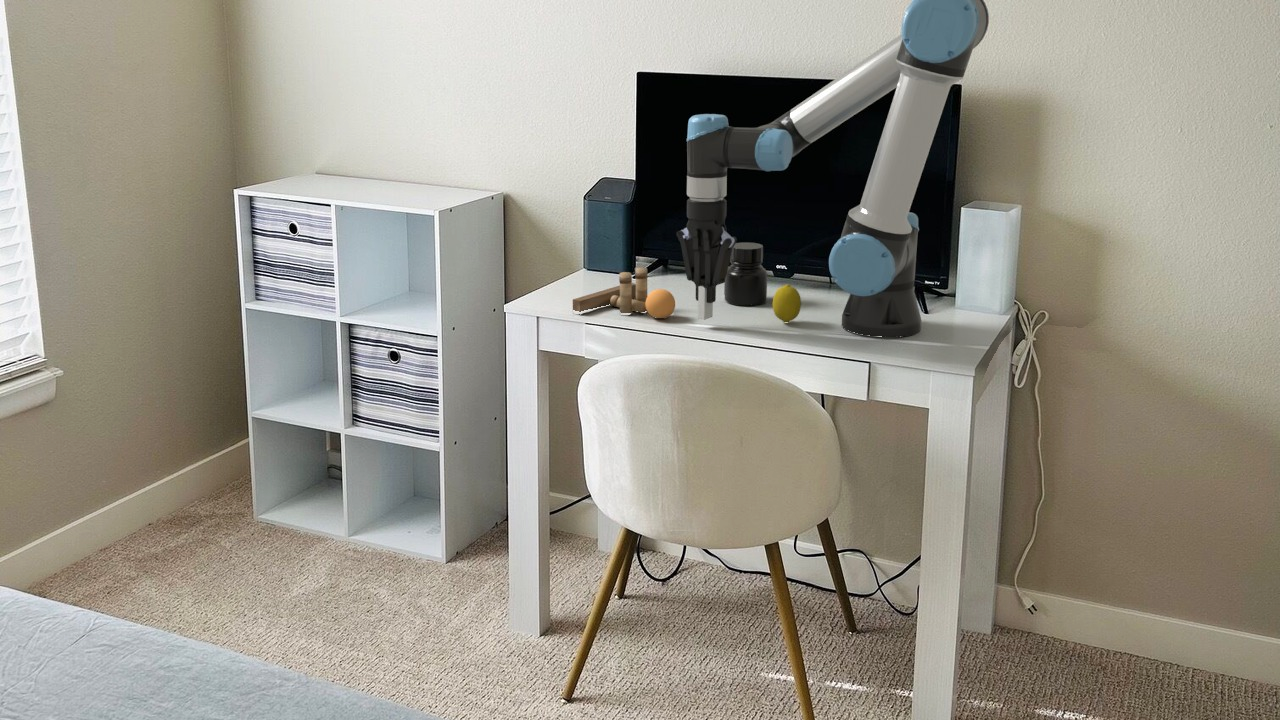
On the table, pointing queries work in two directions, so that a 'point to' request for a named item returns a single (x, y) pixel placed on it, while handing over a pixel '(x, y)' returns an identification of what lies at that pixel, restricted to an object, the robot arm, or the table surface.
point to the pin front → (636, 304)
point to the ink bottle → (746, 276)
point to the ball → (660, 303)
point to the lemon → (786, 303)
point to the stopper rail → (598, 298)
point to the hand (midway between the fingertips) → (705, 317)
